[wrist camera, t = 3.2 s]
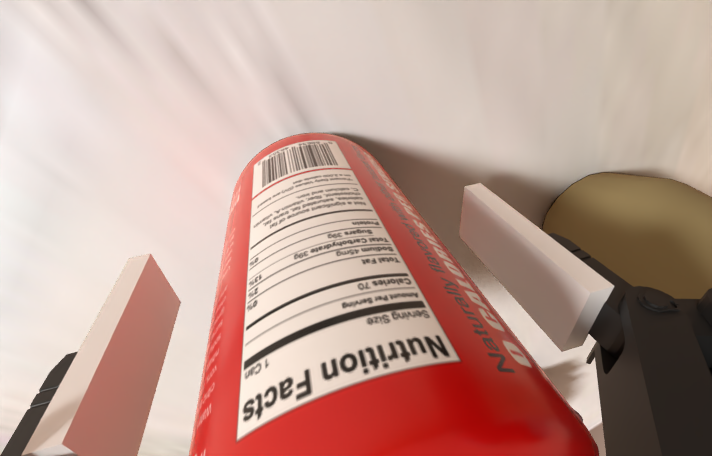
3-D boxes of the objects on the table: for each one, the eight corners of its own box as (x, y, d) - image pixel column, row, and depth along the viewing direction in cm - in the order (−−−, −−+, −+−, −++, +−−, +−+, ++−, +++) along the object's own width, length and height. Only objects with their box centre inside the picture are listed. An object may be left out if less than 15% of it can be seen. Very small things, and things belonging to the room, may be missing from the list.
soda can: (305, 87, 13) (676, 720, 1) (411, 190, 18) (729, 567, 6) (200, 212, 15) (-29, 930, 3) (318, 278, 20) (406, 698, 8)
